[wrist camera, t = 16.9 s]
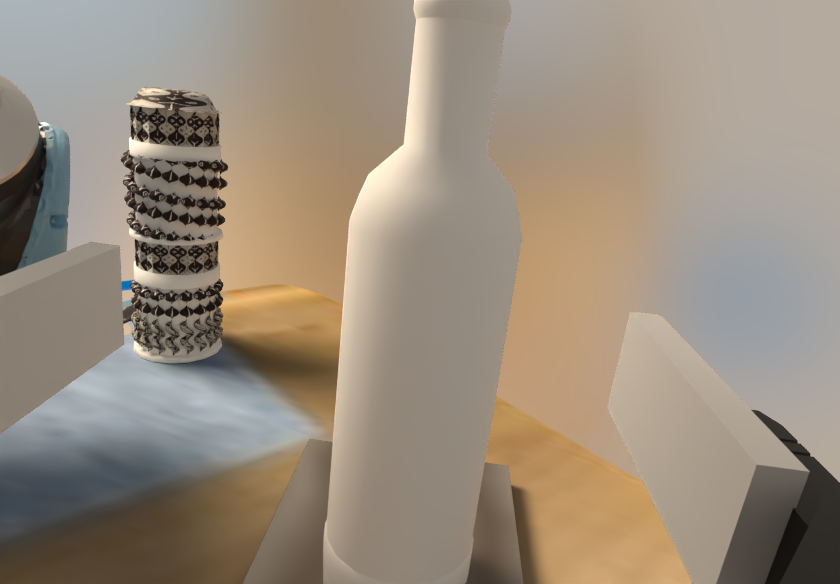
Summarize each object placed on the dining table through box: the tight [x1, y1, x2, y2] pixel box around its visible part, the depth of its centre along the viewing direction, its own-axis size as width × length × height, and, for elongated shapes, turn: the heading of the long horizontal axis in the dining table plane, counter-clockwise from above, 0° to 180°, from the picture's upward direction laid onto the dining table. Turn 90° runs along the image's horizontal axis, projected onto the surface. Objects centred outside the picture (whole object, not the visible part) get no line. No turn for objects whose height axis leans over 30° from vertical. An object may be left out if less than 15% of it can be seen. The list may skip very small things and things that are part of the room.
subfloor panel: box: [243, 439, 524, 584], centre depth 34 cm, size 15×22×2 cm
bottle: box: [323, 0, 522, 584], centre depth 28 cm, size 8×8×30 cm
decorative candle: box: [121, 87, 228, 364], centre depth 57 cm, size 9×9×25 cm
